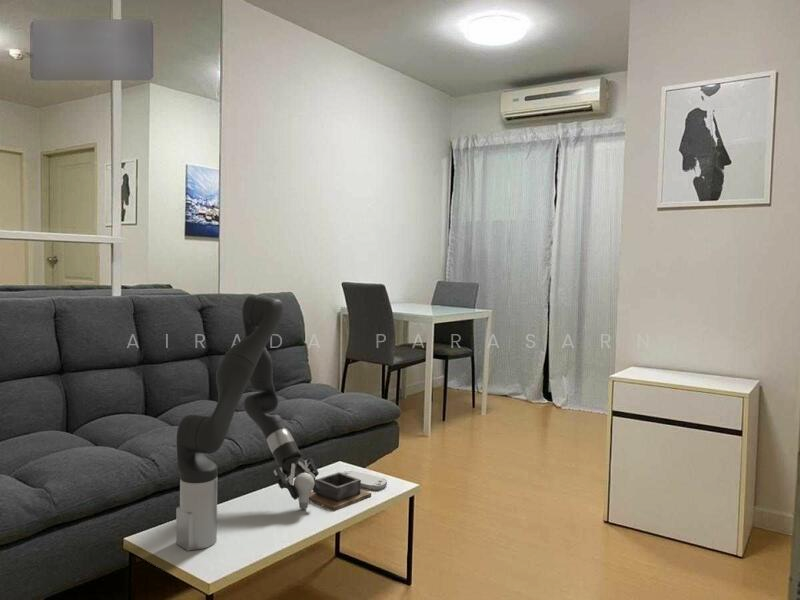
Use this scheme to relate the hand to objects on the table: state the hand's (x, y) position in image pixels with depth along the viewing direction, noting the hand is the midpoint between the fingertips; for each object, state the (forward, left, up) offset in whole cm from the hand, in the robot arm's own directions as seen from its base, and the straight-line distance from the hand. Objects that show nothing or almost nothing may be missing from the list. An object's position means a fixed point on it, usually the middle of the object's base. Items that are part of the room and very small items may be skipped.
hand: (307, 494), depth 181 cm
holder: (+14, +2, -5) cm, 15 cm away
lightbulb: (0, +2, -5) cm, 5 cm away
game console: (+28, +5, -6) cm, 29 cm away
